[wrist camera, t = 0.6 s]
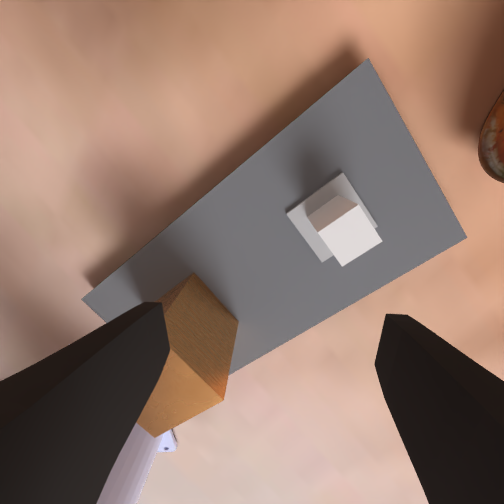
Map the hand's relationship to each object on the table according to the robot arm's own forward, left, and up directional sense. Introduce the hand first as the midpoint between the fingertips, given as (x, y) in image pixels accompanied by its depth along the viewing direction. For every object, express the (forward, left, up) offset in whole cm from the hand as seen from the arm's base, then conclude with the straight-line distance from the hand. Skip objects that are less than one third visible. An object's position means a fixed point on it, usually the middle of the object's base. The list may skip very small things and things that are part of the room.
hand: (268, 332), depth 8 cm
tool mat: (-1, -2, -10) cm, 11 cm away
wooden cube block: (-6, -4, -9) cm, 12 cm away
